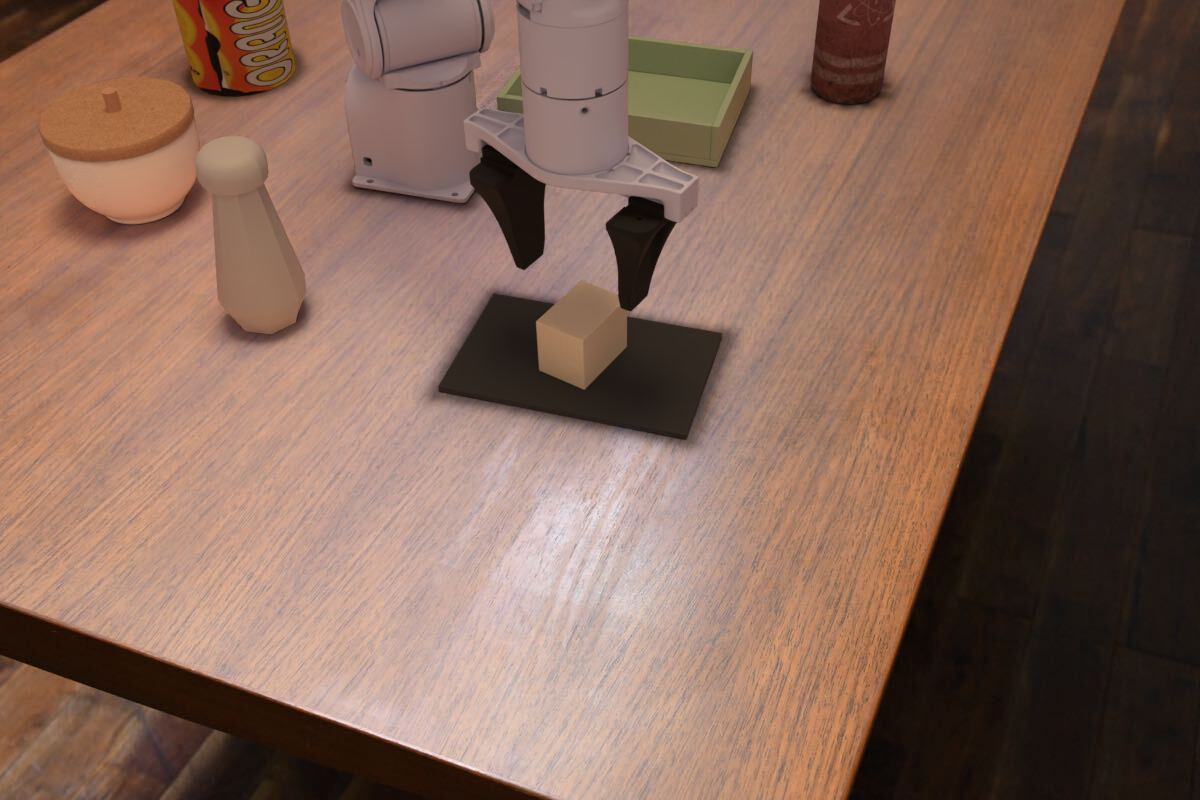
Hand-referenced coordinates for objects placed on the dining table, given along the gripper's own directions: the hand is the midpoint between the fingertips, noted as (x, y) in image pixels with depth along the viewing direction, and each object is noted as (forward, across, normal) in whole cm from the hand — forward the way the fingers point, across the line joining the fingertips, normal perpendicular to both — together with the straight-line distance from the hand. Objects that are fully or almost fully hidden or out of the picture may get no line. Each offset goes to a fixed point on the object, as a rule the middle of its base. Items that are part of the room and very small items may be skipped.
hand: (580, 280), depth 73 cm
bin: (+7, +15, -29) cm, 33 cm away
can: (+7, +1, -42) cm, 43 cm away
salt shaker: (+7, +21, +7) cm, 23 cm away
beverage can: (+7, +48, -17) cm, 51 cm away
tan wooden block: (+6, 0, 0) cm, 6 cm away
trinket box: (+7, +39, +2) cm, 40 cm away
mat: (+7, 0, 0) cm, 7 cm away
